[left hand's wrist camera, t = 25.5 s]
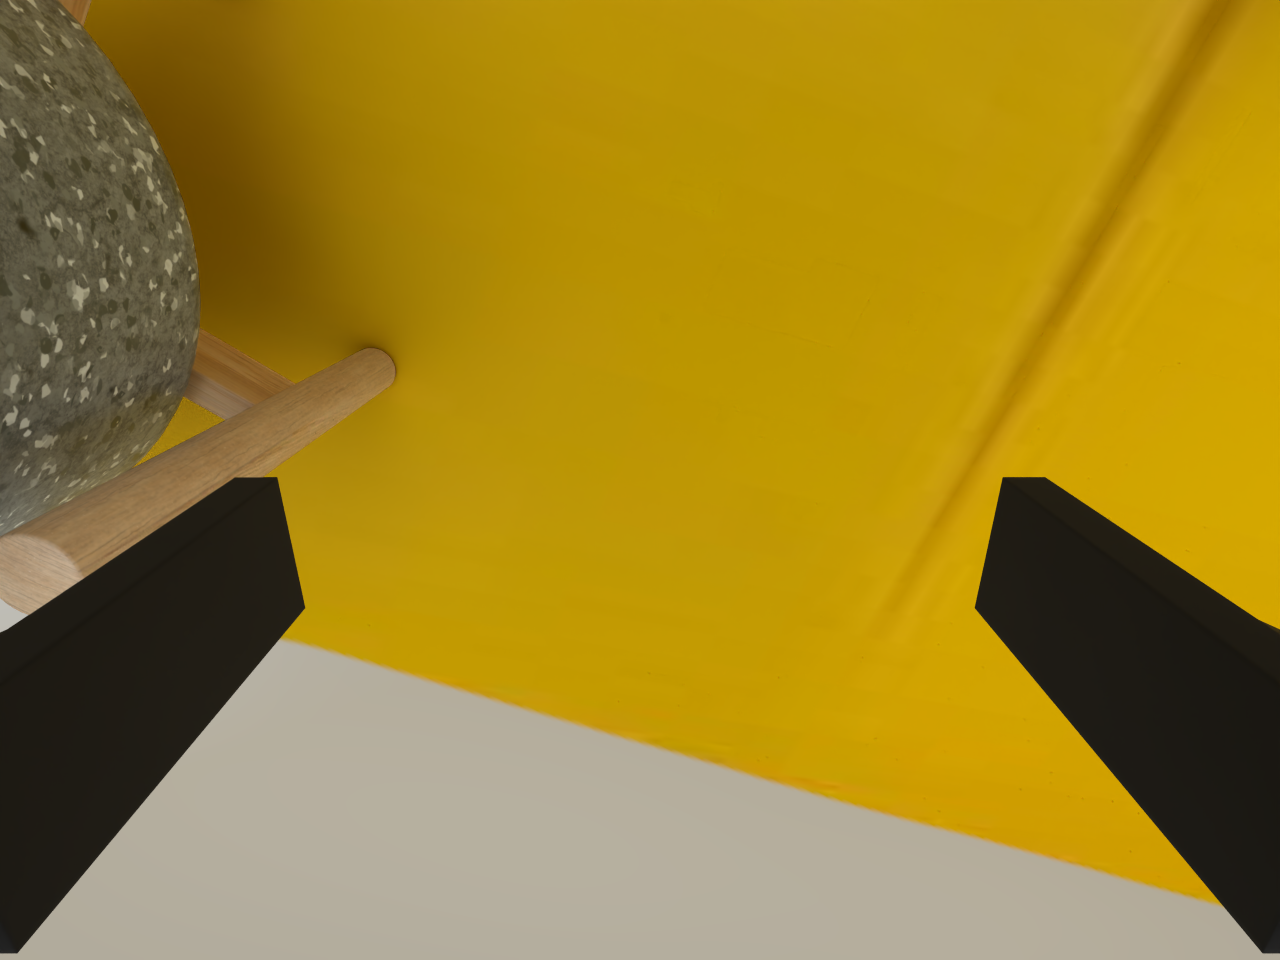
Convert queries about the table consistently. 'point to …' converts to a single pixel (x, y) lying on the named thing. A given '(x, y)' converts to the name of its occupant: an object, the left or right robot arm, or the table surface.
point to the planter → (113, 325)
